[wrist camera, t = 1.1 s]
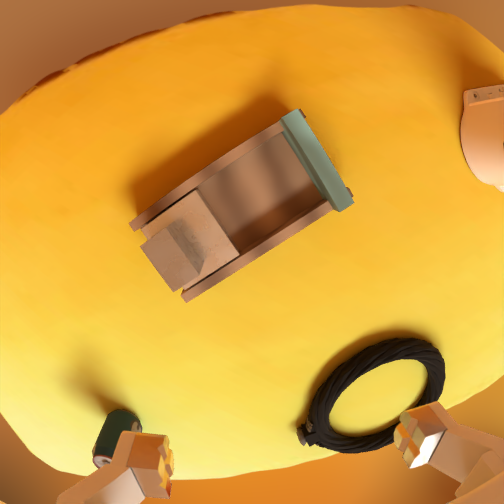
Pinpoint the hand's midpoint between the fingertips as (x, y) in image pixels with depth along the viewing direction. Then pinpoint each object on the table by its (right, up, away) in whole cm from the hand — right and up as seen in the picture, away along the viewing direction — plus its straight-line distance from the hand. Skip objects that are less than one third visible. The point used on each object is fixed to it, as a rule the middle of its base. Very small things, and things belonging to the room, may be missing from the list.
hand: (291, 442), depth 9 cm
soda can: (-25, -25, +39) cm, 52 cm away
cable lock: (+21, -21, +40) cm, 50 cm away
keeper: (-9, +8, +29) cm, 31 cm away
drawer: (-3, +12, +30) cm, 32 cm away
